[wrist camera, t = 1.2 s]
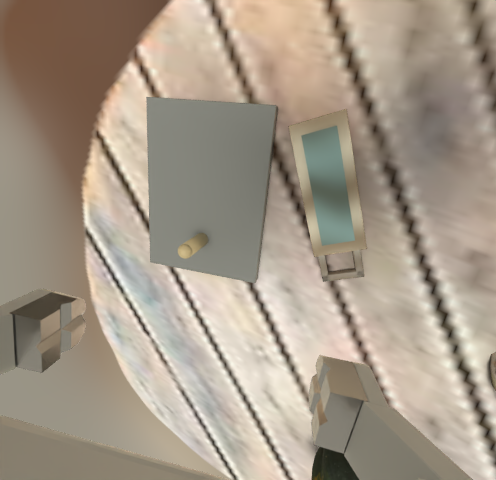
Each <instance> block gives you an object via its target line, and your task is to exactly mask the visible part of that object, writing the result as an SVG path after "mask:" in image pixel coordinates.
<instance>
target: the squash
mask: <svg viewBox="0 0 496 480" xmlns="http://www.w3.org/2000/svg"><path fill="white" fill-rule="evenodd" d="M312 480H359V478H358V477H357V475H356V473H355V472H354V470H353V469H352V467H351V466H350V464H349V462H348V461H347V459H346V458H345V456H344V454H343V453H340V452H336V451H333V450H330V449H326V448H323V447H320V448H319V449H318V451H317V453H316V456H315V459H314V463H313V468H312Z"/></svg>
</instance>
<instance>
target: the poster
mask: <svg viewBox="0 0 496 480" xmlns="http://www.w3.org/2000/svg"><path fill="white" fill-rule="evenodd" d="M490 369H491V380H492V385H493V387H494V389H495V391H496V352H495V353H493V354H491V365H490Z"/></svg>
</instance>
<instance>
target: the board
mask: <svg viewBox="0 0 496 480" xmlns="http://www.w3.org/2000/svg"><path fill="white" fill-rule="evenodd" d="M277 110H278V107H277V106H276V105H263V104H247V103H232V102H216V101H201V100H185V99H170V98H155V97H147V138H148V181H149V224H150V262H152V263H157V264H162V265H167V266H172V267H177V268H182V269H187V270H192V271H197V272H202V273H207V274H212V275H217V276H222V277H227V278H232V279H237V280H242V281H247V282H252V283H256V280H257V278H258V269H259V261H260V253H261V244H262V236H263V227H264V219H265V211H266V202H267V194H268V186H269V177H270V169H271V160H272V152H273V144H274V135H275V127H276V118H277Z"/></svg>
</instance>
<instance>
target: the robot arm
mask: <svg viewBox="0 0 496 480" xmlns="http://www.w3.org/2000/svg"><path fill="white" fill-rule="evenodd" d="M85 311H86V302H85V301H84V300H83V299H82V298H79V297H74V296H71V295H67V294H63V293H59V292H55V291H51V290H47V289H37V290H34V291H32V292H30V293H28V294H26V295H23V296H22V297H19V298H17V299H15V300H12V301H10V302H8V303H6V304H3V305H1V306H0V375H1V374H3V373H6V372H8V371H10V370H13V369H15V367H19V368H23V369H27V370H32V371H36V372H40V373H42V372H44V371H45V370H46V369H47V368H49V367H50V366H51V365H52V364H53V363H55V362H56V361H57V360H58V359H60V356H61V353H62V352H64V351H67V350H70V349H72V348H73V347H74V346H76V345H77V344H78V343H79V341H80V340H81V338H82V336H83V335H84V331H85V324H86V322H85V320H84V318H83V317H82V314H83V313H84V312H85ZM316 371H317V374H316V375H315V376H313V377H312V380H311V384H310V390H309V408H310V411H311V412H312V414H313V419H312V422H311V426H312V434H313V442H314V445H316V446H319V447H323V448H326V449H330V450H333V451H336V452H340V453H343V454H344V456H345V458H346V459H347V461H348V462H349V464H350V466H351V467H352V469H353V470H354V472H355V473H356V475H357V477H358V478H359V480H473V479H472V478H470V477H469V476H468V475H467V474H466V473H465V472H464V471H463V470H462V469H460V468H459V467H458V466H457V465H456V464H455V463H454V462H453V461H452V460H451V459H449V458H448V457H447V456H446V455H445V454H444V453H443V452H442V451H441V450H439V449H438V448H437V447H436V446H435V445H434V444H433V443H432V442H431V441H430V440H428V439H427V438H426V437H425V436H424V435H423V434H422V433H421V432H420V431H418V430H417V429H416V428H415V427H414V426H413V425H412V424H411V423H410V422H409V421H407V420H406V419H405V418H404V417H403V416H402V415H401V414H400V413H399V412H397V411H396V410H395V409H394V408H390V407H389V406H388V404H387V402H386V400H385V398H384V396H383V394H382V392H381V389H380V387H379V385H378V383H377V381H376V379H375V377H374V375H373V372H372V370H371V368H370V367H369V366H368V365H366V364H361V363H356V362H349V361H345V360H340V359H336V358H331V357H327V356H322V355H319V357H318V359H317V363H316ZM0 480H229V479H226V478H222V477H218V476H215V475H211V474H208V473H204V472H201V471H197V470H194V469H190V468H186V467H183V466H180V465H176V464H173V463H169V462H165V461H162V460H159V459H155V458H151V457H148V456H144V455H141V454H137V453H133V452H130V451H127V450H123V449H120V448H116V447H112V446H109V445H105V444H101V443H98V442H95V441H91V440H88V439H84V438H81V437H77V436H73V435H70V434H66V433H63V432H59V431H56V430H52V429H49V428H45V427H42V426H37V425H34V424H31V423H27V422H23V421H20V420H17V419H13V418H9V417H6V416H3V415H0Z"/></svg>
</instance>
